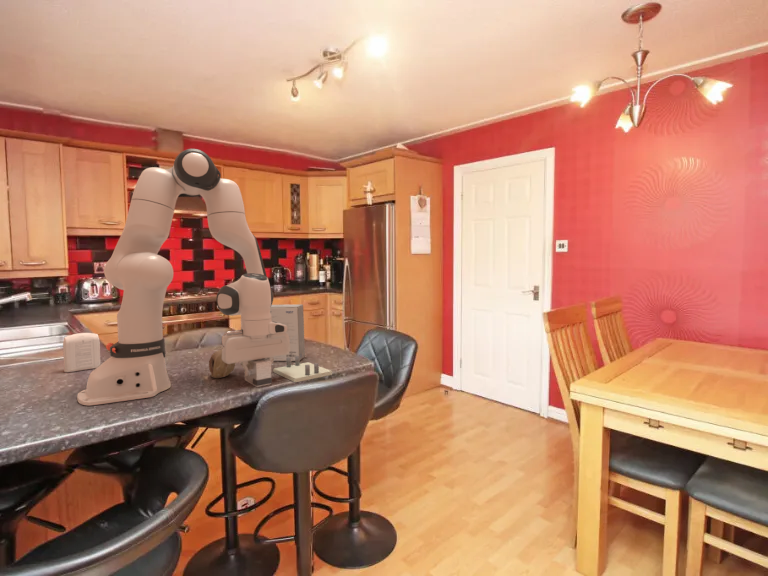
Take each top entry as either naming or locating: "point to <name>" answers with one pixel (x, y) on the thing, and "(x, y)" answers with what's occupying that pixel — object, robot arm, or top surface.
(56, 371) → the top surface
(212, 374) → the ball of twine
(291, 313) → the hard drive box
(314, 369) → the pin tray
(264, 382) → the block
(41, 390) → the top surface
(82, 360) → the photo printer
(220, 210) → the robot arm
